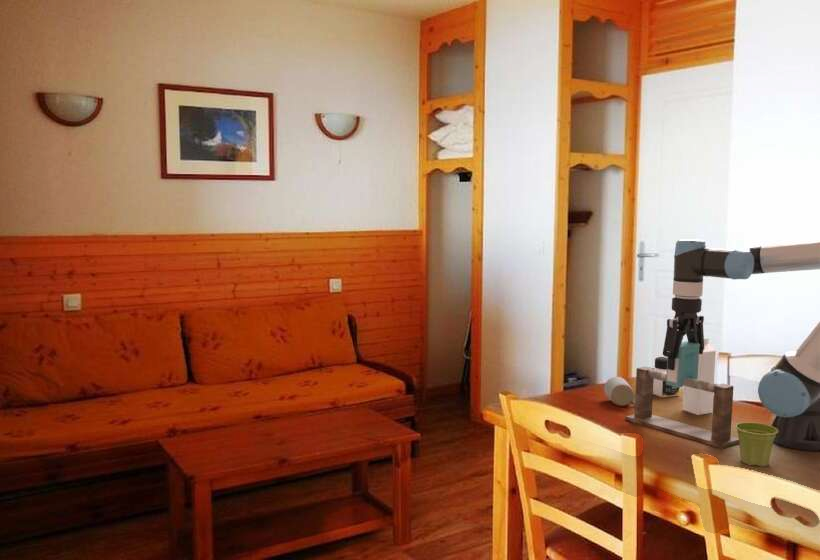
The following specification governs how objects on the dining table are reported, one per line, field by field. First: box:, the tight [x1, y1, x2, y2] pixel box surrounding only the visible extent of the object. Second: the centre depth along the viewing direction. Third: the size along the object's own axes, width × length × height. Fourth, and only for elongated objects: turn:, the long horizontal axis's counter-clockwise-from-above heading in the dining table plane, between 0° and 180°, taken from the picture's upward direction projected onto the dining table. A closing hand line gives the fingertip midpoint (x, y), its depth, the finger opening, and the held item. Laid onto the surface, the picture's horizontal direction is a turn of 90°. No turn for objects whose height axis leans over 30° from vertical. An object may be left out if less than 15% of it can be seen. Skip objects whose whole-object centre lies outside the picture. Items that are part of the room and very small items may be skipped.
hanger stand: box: [625, 365, 739, 449], centre depth 205 cm, size 30×8×15 cm, turn 37°
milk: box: [682, 338, 717, 416], centre depth 224 cm, size 6×6×22 cm
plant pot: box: [735, 421, 778, 467], centre depth 182 cm, size 9×9×9 cm
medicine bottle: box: [653, 356, 680, 398], centre depth 244 cm, size 7×7×12 cm
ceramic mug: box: [604, 376, 635, 407], centre depth 233 cm, size 11×8×8 cm
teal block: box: [666, 340, 700, 389], centre depth 204 cm, size 8×4×11 cm, turn 127°
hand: (682, 378), depth 205 cm, fingers closed on teal block, 8 cm apart
